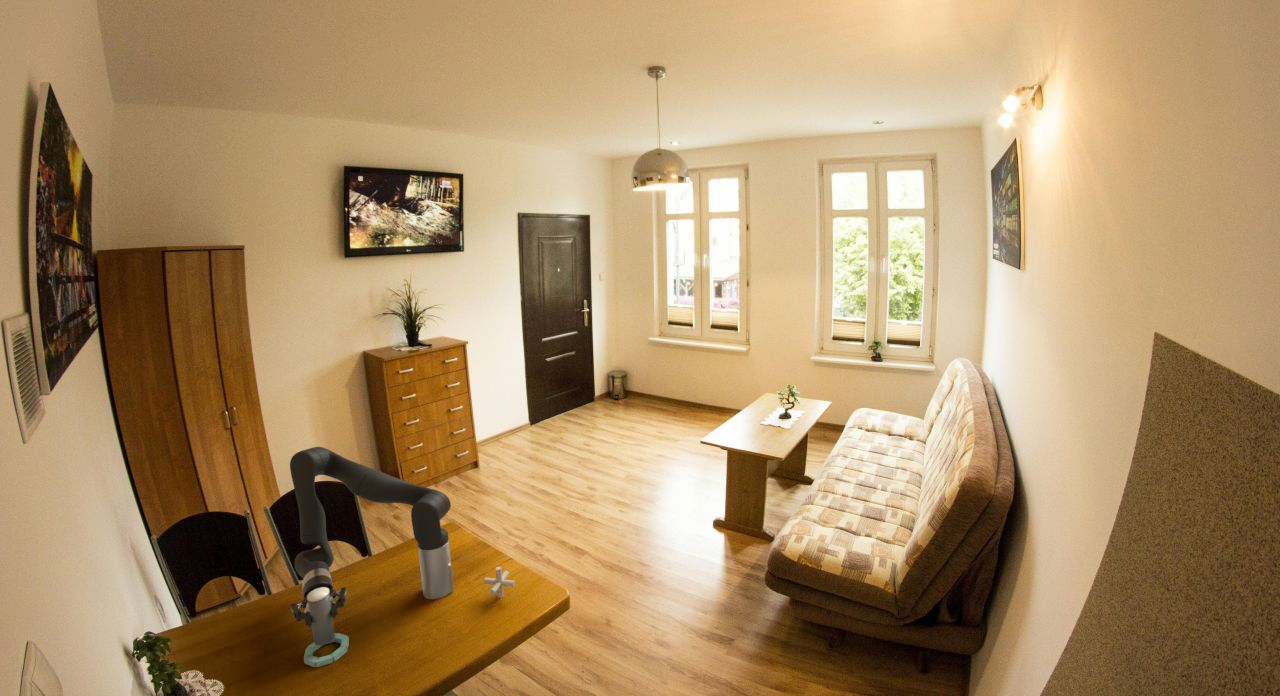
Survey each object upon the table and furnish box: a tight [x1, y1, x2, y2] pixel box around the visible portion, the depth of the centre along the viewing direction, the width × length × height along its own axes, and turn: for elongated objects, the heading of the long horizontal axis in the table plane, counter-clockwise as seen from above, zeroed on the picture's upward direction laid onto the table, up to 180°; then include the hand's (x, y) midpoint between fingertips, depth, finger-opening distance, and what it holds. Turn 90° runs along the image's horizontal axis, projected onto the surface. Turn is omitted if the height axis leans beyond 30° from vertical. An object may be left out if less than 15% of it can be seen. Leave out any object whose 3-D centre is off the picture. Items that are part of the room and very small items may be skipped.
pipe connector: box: [483, 566, 516, 599], centre depth 167 cm, size 10×10×10 cm
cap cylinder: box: [307, 587, 336, 646], centre depth 143 cm, size 5×5×14 cm
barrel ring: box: [303, 632, 350, 668], centre depth 145 cm, size 10×10×2 cm
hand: (321, 619), depth 141 cm, fingers closed on cap cylinder, 5 cm apart
